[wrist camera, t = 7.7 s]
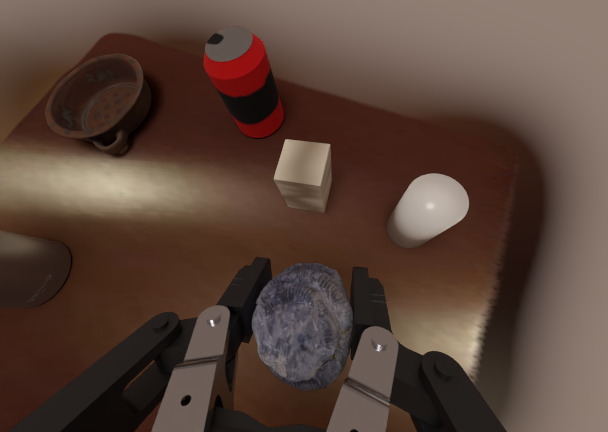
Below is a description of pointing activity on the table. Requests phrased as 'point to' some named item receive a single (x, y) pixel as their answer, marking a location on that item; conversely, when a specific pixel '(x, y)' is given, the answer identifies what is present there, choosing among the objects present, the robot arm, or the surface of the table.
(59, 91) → the dish
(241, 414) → the robot arm
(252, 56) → the soda can
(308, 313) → the fossil stone
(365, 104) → the table surface
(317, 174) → the birch block
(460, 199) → the ceramic cylinder
